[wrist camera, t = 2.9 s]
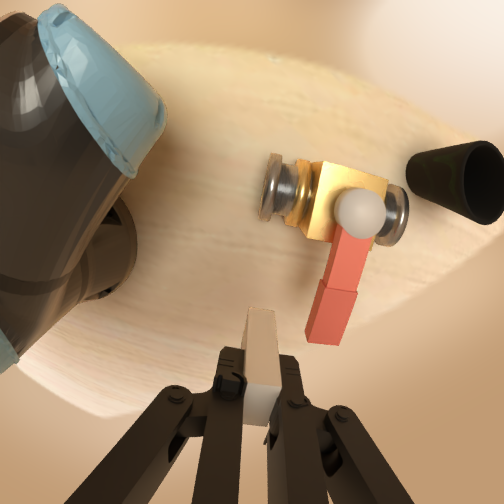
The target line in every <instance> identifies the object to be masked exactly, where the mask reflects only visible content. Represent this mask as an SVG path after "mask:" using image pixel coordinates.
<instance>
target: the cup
mask: <svg viewBox="0 0 504 504" xmlns="http://www.w3.org/2000/svg"><path fill="white" fill-rule="evenodd" d="M406 180H407V183H408V186H409V188H410V189H411V191H412V192H413V193H415V194H416V195H418V196H420V197H422V198H424V199H427V200H429V201H431V202H434V203H436V204H438V205H441V206H443V207H445V208H447V209H449V210H452V211H454V212H456V213H458V214H460V215H462V216H464V217H466V218H468V219H470V220H472V221H474V222H476V223H478V224H482V225H489V224H492V223H493V222H495V221H497V219H498V218H499V217H500V216H501V215H502V213H503V211H504V158H503V156H502V154H501V153H500V151H499V150H498V148H496V147H495V146H494V145H493V144H492V143H490V142H488V141H475V142H470V143H465V144H459V145H454V146H449V147H445V148H440V149H435V150H430V151H426V152H421V153H418V154H415V155H414V156H412V157H411V159H410V160H409V161H408V164H407V167H406Z"/></svg>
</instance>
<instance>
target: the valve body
mask: <svg viewBox="0 0 504 504" xmlns="http://www.w3.org/2000/svg"><path fill="white" fill-rule="evenodd" d="M388 181H389V180H387V179H384V178H381V177H378V176H374V175H371V174H368V173H365V172H361V171H358V170H354V169H351V168H347V167H344V166H340V165H336V164H332V163H329V162H325V161H321V162H313V163H310V161H307V160H303V159H298V160H297V162H296V164H295V166H292V165H288V164H283V163H282V155H280V154H275V153H271V155H270V159H269V163H268V167H267V172H266V176H265V181H264V186H263V192H262V197H261V203H260V209H259V216H258V219H259V220H264V221H269V220H270V218H271V215H272V214H277V215H282V216H285V217H284V220H285V225H290V226H295V227H297V226H299V228H300V229H301V230H302V232H303V233H304V235H305V236H306V237H307V238H310V239H315V240H320V241H325V242H330V243H333V239H334V235H335V231H336V227H337V222H336V219H335V215H334V207H335V203H336V200H337V198H338V197H339V196H340V194H341V193H342V192H344V191H345V190H347V189H350V188H355V187H356V188H362V189H367V190H371V191H373V192H375V193H377V194H378V195H379V196H380V197H381V199H382V200H383V202H384V204H385V208H386V219H385V222H384V225H383V227H382V228H381V230H380V231H379V232H378V233H377V234H376V235H374V236H373V237H372V240H371V244H370V247H369V251H371V250H372V246H373V243H374V241H375V242H376V243H377V244H378V245H382V246H386V247H391V246H393V245H395V244H396V243H397V242H398V241H399V239H400V238H401V236H402V235H403V233H404V230H405V228H406V225H407V221H408V216H409V200H408V196H407V194H406V192H405V190H404V189H403V188H401V187H399V186H396V185H393V184H389V185H388Z"/></svg>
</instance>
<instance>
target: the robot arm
mask: <svg viewBox="0 0 504 504" xmlns="http://www.w3.org/2000/svg"><path fill="white" fill-rule="evenodd" d="M37 19H38V20H36V19H34V18H32V17H31V16H29V15H27V14H25V13H24V12H21V11H14V12H10V13H8V14H6V15H4V16H2V17H0V374H2V373H3V372H4V371H5V370H6V369H8V368H9V367H10V366H11V365H12V364H14V363H15V364H17V363H18V362H19V360H20V359H19V358H20V357H21V356H22V355H23V354H24V353H25V352H26V351H27V350H28V349H29V348H30V347H31V346H32V345H33V344H34V343H35V342H36V341H37V340H38V339H39V338H41V337H42V336H43V335H44V334H45V333H46V332H47V331H48V330H49V329H50V328H51V327H52V326H53V325H55V324H56V323H57V322H58V321H59V320H60V319H61V318H62V317H63V316H64V315H66V314H67V313H68V312H69V311H70V310H71V309H72V308H73V307H74V306H76V305H77V304H79V303H83V302H87V301H92V300H96V299H100V298H103V297H106V296H108V295H110V294H111V293H113V292H114V291H115V290H116V289H117V288H119V287H120V286H121V285H122V284H123V283H124V282H125V281H126V279H127V278H128V277H129V275H130V273H131V271H132V269H133V267H134V263H135V260H136V254H137V236H136V230H135V226H134V223H133V220H132V217H131V215H130V213H129V211H128V209H127V207H126V205H125V204H124V202H123V201H122V200H121V198H120V197H119V195H120V194H121V192H122V191H123V189H124V188H125V187H126V185H127V184H128V182H129V181H130V180H131V179H134V178H135V177H136V176H137V174H138V168H139V166H140V164H141V163H142V161H143V160H144V158H145V157H146V155H147V154H148V152H149V151H150V150H151V148H152V147H153V145H154V144H155V143H156V141H157V140H158V139H159V137H160V136H161V134H162V133H163V131H164V129H165V126H166V123H167V109H166V105H165V103H164V101H163V99H162V98H161V97H160V96H159V94H158V93H157V92H156V91H155V90H154V89H153V88H152V86H151V85H150V84H149V83H148V82H147V81H146V80H145V79H144V78H143V77H142V76H141V75H140V74H139V73H138V72H137V71H136V70H135V69H134V68H133V67H132V66H131V65H130V64H129V63H128V62H127V61H126V60H125V59H124V58H123V57H122V56H121V55H120V54H119V53H118V52H117V51H116V50H115V49H114V48H113V47H112V46H111V45H110V44H108V43H107V42H106V41H105V40H104V39H103V38H102V37H101V36H100V35H98V34H97V33H96V32H95V31H94V30H93V29H92V28H91V27H89V26H88V25H87V24H86V23H85V22H84V21H82V20H81V19H79V17H77V16H76V15H75V14H73V13H72V12H71V11H69V10H68V8H67V7H65V6H64V5H63V4H54V5H53V6H51V7H50V8H49V9H48V10H45V11H43V12H42V13H41V15H40V16H39V17H38V18H37ZM299 370H300V369H299V363H298V361H297V360H296V359H295V358H294V356H289V355H281V354H279V352H278V343H277V333H276V323H275V314H274V311H270V310H264V309H259V308H253V307H249V310H248V315H247V320H246V325H245V329H244V334H243V339H242V343H241V349H238V348H232V347H227V346H225V347H224V348H223V349H222V350H221V351H220V355H219V360H218V365H217V370H216V375H215V377H214V382H213V387H212V388H211V389H210V390H208V391H207V392H204V393H194V394H192V393H191V392H190V391H189V390H188V389H187V388H185V387H182V386H179V385H171V386H167V387H165V388H164V389H163V390H162V391H161V392H160V393H159V394H158V395H157V397H156V398H155V399H154V400H153V401H152V403H151V404H150V405H149V406H148V407H147V408H146V410H145V411H144V412H143V413H142V414H141V416H140V417H139V418H138V419H137V420H136V421H135V423H134V424H133V425H132V426H131V427H130V429H129V430H128V431H127V432H126V433H125V435H124V436H123V437H122V438H121V439H120V440H119V441H118V443H117V444H116V445H115V446H114V447H113V448H112V450H111V451H110V452H109V453H108V454H107V455H106V456H105V458H104V459H103V460H102V461H101V462H100V463H99V464H98V466H97V467H96V468H95V469H94V470H93V471H92V473H91V474H90V475H89V476H88V477H87V478H86V479H85V481H84V482H83V483H82V484H81V485H80V486H79V487H78V488H77V489H76V491H75V492H74V493H73V494H72V495H71V496H70V497H69V498H68V500H67V501H66V502H65V503H64V504H148V502H149V501H150V499H151V498H152V496H153V495H154V493H155V492H156V490H157V489H158V487H159V486H160V484H161V483H162V481H163V479H164V478H165V476H166V475H167V473H168V471H169V470H170V468H171V467H172V465H173V464H174V462H175V460H176V459H177V457H178V456H179V454H180V452H181V451H182V449H183V447H184V446H185V444H186V443H187V441H188V439H189V437H201V436H203V442H202V448H201V453H200V459H199V464H198V470H197V475H196V481H195V486H194V493H193V498H192V503H191V504H238V493H239V477H240V459H241V442H242V425H243V424H247V425H256V426H265V427H266V426H267V425H268V423H269V421H270V423H269V425H270V428H269V431H268V433H267V435H266V438H265V440H264V445H266V443H267V471H268V504H329V501H328V495H327V491H328V493H329V495H330V497H331V499H332V501H333V503H334V504H414V502H413V501H412V499H411V498H410V496H409V495H408V493H407V492H406V490H405V489H404V487H403V486H402V484H401V483H400V481H399V480H398V478H397V477H396V475H395V473H394V472H393V470H392V469H391V467H390V466H389V464H388V463H387V461H386V460H385V458H384V457H383V455H382V454H381V452H380V451H379V449H378V448H377V446H376V445H375V443H374V441H373V440H372V438H371V437H370V435H369V434H368V432H367V431H366V429H365V428H364V426H363V425H362V423H361V422H360V420H359V419H358V417H357V416H356V414H355V413H354V412H353V411H352V410H351V409H350V408H348V407H345V406H342V405H336V406H333V407H331V408H330V409H329V411H328V410H324V409H321V408H317V407H315V406H313V405H312V404H311V402H310V400H309V399H308V398H307V397H306V396H305V395H304V390H303V385H302V379H301V376H300V375H301V374H300V371H299Z"/></svg>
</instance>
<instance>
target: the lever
mask: <svg viewBox="0 0 504 504" xmlns="http://www.w3.org/2000/svg"><path fill="white" fill-rule="evenodd" d="M334 215H335V219H336V222H337V227H336V231H335V235H334V239H333V243H332V247H331V251H330V254H329V258H328V262H327V265H326V269H325V273H324V276H323V279H320V282H319V285H318V289H317V292H316V296H315V299H314V302H313V305H312V309H311V312H310V315H309V318H308V322H307V325H306V328H305V335H306V338H307V342H308V343H317V344H326V345H336V346H339V343H340V341H341V338H342V336H343V333H344V331H345V328H346V325H347V323H348V320H349V317H350V315H351V312H352V309H353V306H354V303H355V300H356V298H357V295H358V293H357V291H356V290H357V287H358V284H359V281H360V277H361V274H362V271H363V268H364V265H365V261H366V258H367V254H368V251H369V247H370V244H371V240H372V237H373V236H374V235H376V234H377V233H378V232H379V231H380V230H381V228H382V227H383V225H384V222H385V219H386V208H385V204H384V202H383V200H382V199H381V197H380V196H379V195H378V194H377V193H375V192H373V191H371V190H367V189H362V188H356V187H355V188H350V189H347V190H345V191H344V192H342V193H341V194H340V196H339V197H338V198H337V200H336V203H335V207H334Z"/></svg>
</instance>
